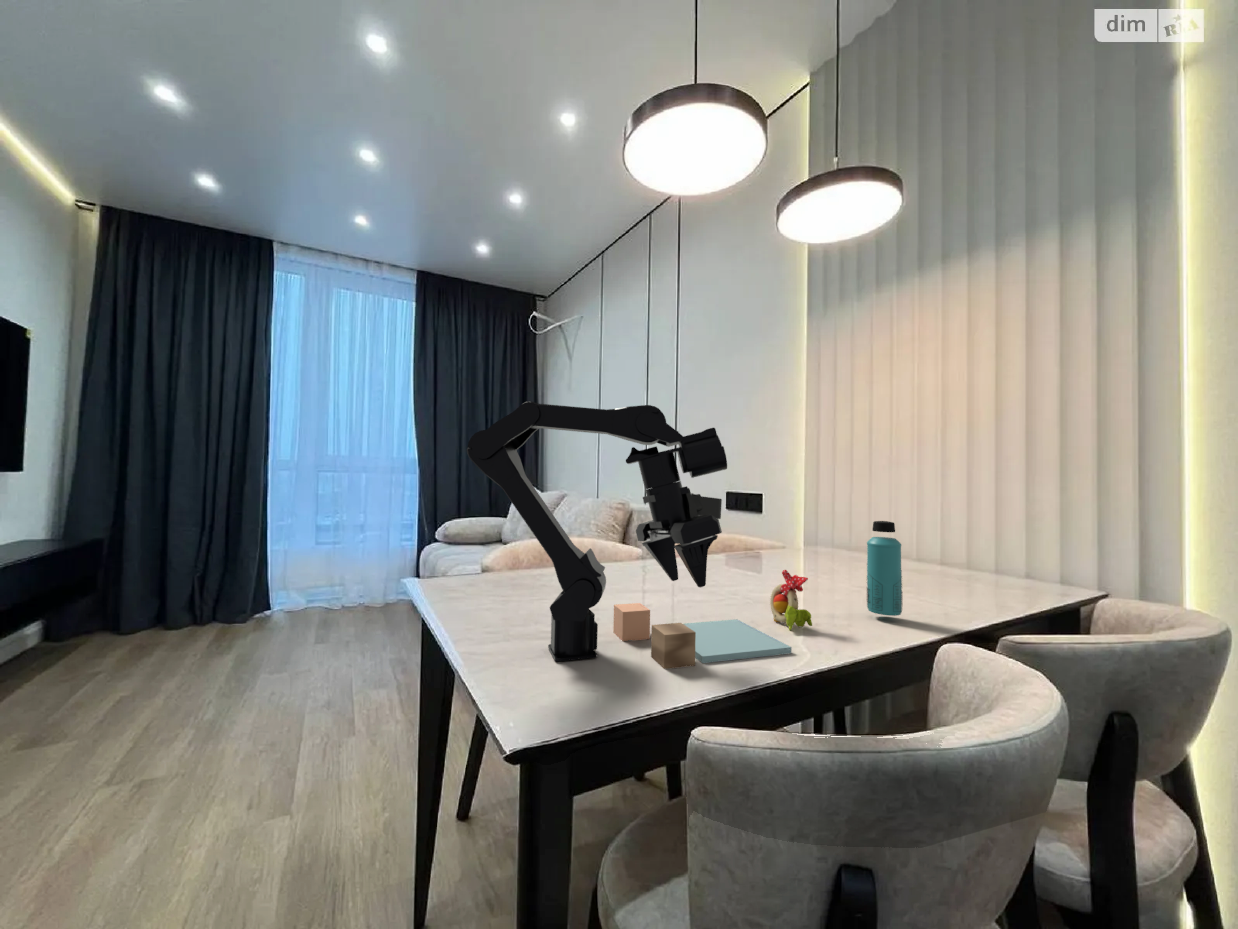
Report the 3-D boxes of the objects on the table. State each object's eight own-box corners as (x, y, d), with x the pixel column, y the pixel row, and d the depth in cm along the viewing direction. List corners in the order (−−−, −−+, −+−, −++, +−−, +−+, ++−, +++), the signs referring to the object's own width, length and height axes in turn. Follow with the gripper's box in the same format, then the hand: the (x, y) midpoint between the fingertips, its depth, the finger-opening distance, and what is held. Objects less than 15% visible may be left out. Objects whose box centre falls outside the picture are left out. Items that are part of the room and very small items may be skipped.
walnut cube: (664, 669, 70) (664, 635, 71) (651, 657, 75) (651, 625, 75) (695, 666, 72) (695, 632, 72) (680, 654, 77) (680, 622, 77)
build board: (702, 663, 73) (702, 656, 73) (660, 630, 88) (660, 625, 88) (791, 653, 78) (791, 647, 78) (737, 624, 93) (737, 619, 93)
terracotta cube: (622, 641, 82) (622, 612, 82) (613, 632, 87) (613, 604, 87) (649, 639, 84) (650, 610, 84) (639, 630, 88) (639, 603, 89)
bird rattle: (764, 635, 94) (796, 628, 86) (751, 577, 98) (780, 566, 91) (789, 632, 96) (823, 625, 89) (775, 576, 101) (805, 565, 93)
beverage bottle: (909, 624, 96) (909, 522, 97) (875, 623, 96) (876, 522, 97) (891, 614, 103) (891, 520, 103) (859, 614, 103) (860, 519, 103)
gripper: (738, 467, 70) (766, 573, 69) (681, 479, 87) (703, 564, 87) (670, 485, 66) (699, 597, 65) (625, 494, 84) (647, 582, 83)
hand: (687, 583), depth 75 cm, fingers open, 9 cm apart
